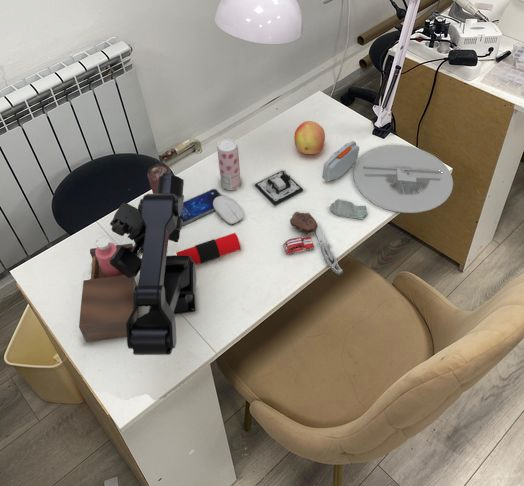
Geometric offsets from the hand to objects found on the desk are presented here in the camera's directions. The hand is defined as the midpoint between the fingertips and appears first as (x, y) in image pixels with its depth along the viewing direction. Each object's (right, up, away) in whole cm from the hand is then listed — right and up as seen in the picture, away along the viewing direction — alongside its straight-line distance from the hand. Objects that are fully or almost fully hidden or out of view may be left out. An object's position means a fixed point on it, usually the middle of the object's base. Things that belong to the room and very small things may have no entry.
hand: (123, 248), depth 128 cm
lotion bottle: (-5, -7, +8) cm, 12 cm away
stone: (+42, +4, +21) cm, 47 cm away
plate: (+73, +17, +32) cm, 81 cm away
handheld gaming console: (+55, +19, +34) cm, 68 cm away
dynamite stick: (+26, +1, +14) cm, 29 cm away
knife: (+50, -1, +14) cm, 52 cm away
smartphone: (+14, +9, +26) cm, 31 cm away
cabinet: (-3, -16, +2) cm, 16 cm away
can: (+6, +8, +26) cm, 28 cm away
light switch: (+34, +19, +32) cm, 50 cm away
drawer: (-5, -7, +9) cm, 13 cm away
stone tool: (+57, +11, +24) cm, 62 cm away
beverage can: (+23, +15, +32) cm, 42 cm away
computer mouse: (+23, +7, +24) cm, 34 cm away
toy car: (+41, -1, +15) cm, 44 cm away
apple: (+45, +25, +35) cm, 63 cm away
